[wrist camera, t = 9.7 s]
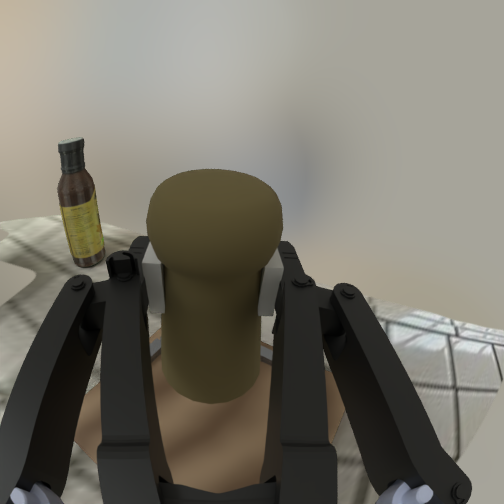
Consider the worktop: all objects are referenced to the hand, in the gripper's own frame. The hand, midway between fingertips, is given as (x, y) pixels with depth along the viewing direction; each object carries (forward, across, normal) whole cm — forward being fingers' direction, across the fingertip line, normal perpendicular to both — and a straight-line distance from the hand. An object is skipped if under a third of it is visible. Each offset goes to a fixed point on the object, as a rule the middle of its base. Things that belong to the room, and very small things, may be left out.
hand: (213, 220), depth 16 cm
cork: (-5, 0, -7) cm, 9 cm away
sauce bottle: (+20, -21, -18) cm, 35 cm away
